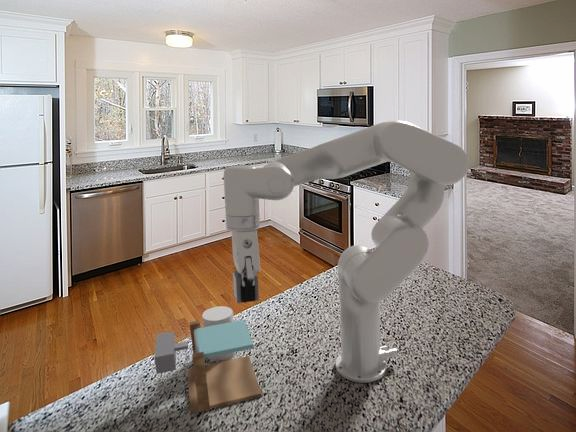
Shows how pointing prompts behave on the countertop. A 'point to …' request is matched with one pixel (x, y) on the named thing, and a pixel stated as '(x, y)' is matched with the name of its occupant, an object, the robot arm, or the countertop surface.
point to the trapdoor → (203, 343)
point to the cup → (215, 318)
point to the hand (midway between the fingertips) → (246, 295)
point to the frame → (219, 380)
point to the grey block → (238, 283)
